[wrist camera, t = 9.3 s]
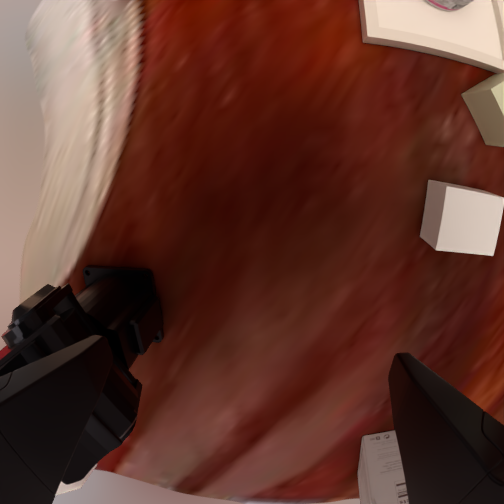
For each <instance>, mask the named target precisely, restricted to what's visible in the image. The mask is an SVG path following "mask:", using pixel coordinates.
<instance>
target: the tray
mask: <svg viewBox="0 0 504 504" xmlns="http://www.w3.org/2000/svg"><path fill="white" fill-rule="evenodd" d="M359 8H360V17H361V27H362V39H363V43H370V44H378V45H385V46H391V47H397V48H403V49H408V50H413V51H418V52H423V53H428V54H432V55H436V56H440V57H444V58H448V59H452V60H456V61H459V62H463V63H466V64H470V65H473V66H476V67H479V68H482V69H485V70H488V71H491V72H494V73H497V74H500V73H504V0H474V1H472V2H470V3H469V4H468V5H466V6H464V7H463V8H461V9H459V10H456V11H445V10H442V9H439V8H437V7H435V6H433V5H431V4H429V3H428V2H426V1H425V0H359Z"/></svg>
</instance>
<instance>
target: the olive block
mask: <svg viewBox="0 0 504 504" xmlns="http://www.w3.org/2000/svg"><path fill="white" fill-rule="evenodd" d="M461 95H462V97H463V99H464V101H465V103H466V105H467V107H468V108H469V110H470V112H471V114H472V116H473V118H474V120H475V122H476V124H477V127H478V129H479V131H480V133H481V135H482V137H483V140H484V142H485V144H486V145H492V146H500V147H504V73H500V74H495V75H492V76H491V77H489V78H487V79H486V80H484V81H482V82H481V83H479V84H477V85H476V86H474V87H472V88H471V89H469V90H467V91H466V92H464V93H462V94H461Z"/></svg>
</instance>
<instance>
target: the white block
mask: <svg viewBox="0 0 504 504" xmlns="http://www.w3.org/2000/svg"><path fill="white" fill-rule="evenodd" d="M503 207H504V198H503V197H501V196H498V195H495V194H493V193H490V192H487V191H484V190H480V189H475V188H471V187H466V186H461V185H455V184H450V183H445V182H439V181H434V180H428V187H427V195H426V202H425V209H424V215H423V221H422V227H421V233H420V237H421V238H422V239H423V240H425V241H426V242H427V243H428V244H429V245H430V246H432V247H433V248H434V249H435V250H440V251H450V252H460V253H470V254H480V255H490V256H493V254H494V250H495V246H496V242H497V237H498V233H499V228H500V223H501V218H502V212H503Z"/></svg>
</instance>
